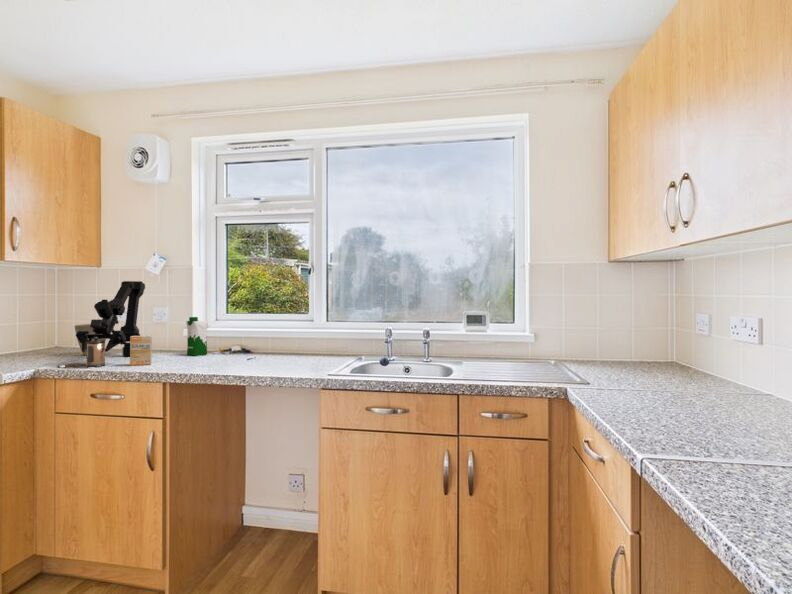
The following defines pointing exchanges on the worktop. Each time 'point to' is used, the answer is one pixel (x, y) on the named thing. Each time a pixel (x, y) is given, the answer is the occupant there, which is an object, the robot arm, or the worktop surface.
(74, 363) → the trivet
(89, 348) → the copper cylinder
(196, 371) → the worktop surface
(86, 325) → the plant pot
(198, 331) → the milk carton
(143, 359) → the supplement box
